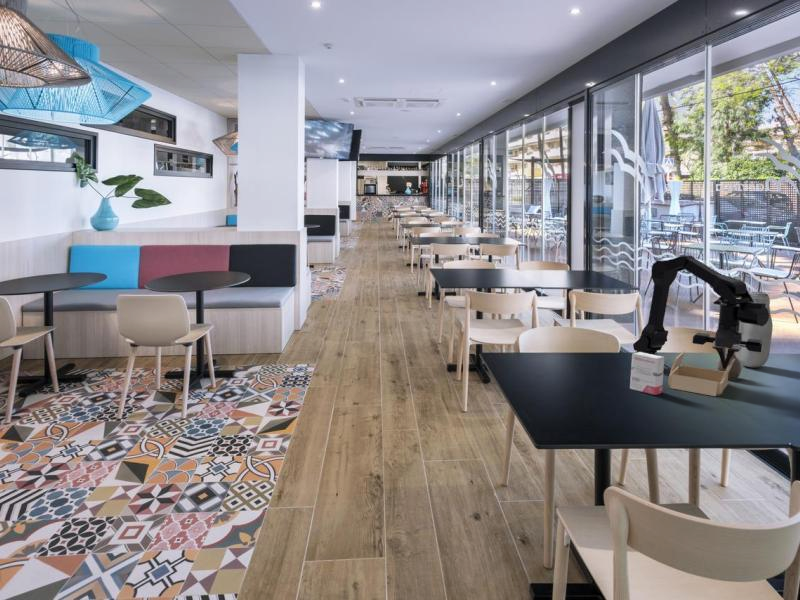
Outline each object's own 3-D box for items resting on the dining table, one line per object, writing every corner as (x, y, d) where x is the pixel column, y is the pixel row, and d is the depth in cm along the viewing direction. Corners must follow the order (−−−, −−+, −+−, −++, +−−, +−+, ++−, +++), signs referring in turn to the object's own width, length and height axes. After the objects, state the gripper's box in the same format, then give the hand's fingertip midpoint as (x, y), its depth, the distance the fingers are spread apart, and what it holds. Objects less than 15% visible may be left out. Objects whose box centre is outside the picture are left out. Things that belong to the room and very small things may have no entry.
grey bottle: (748, 362, 208) (755, 289, 204) (773, 369, 199) (782, 293, 194) (728, 364, 205) (735, 290, 201) (753, 371, 196) (761, 294, 191)
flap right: (720, 380, 170) (727, 366, 168) (726, 371, 179) (733, 358, 177) (722, 381, 170) (729, 367, 168) (728, 372, 179) (735, 359, 177)
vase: (743, 381, 184) (746, 356, 183) (721, 380, 186) (723, 355, 184) (735, 375, 191) (738, 351, 189) (713, 374, 192) (716, 350, 191)
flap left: (679, 364, 188) (685, 351, 186) (671, 372, 178) (677, 358, 177) (678, 364, 188) (683, 351, 186) (669, 372, 179) (675, 358, 177)
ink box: (663, 392, 173) (666, 356, 171) (655, 395, 170) (658, 358, 168) (636, 385, 180) (639, 350, 178) (629, 388, 177) (631, 353, 175)
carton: (666, 387, 178) (667, 374, 177) (678, 375, 191) (679, 363, 190) (719, 397, 168) (720, 383, 168) (728, 384, 182) (729, 371, 181)
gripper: (690, 320, 171) (686, 368, 174) (761, 328, 160) (756, 379, 162) (698, 315, 180) (694, 361, 182) (765, 322, 168) (760, 371, 171)
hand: (724, 368), depth 174 cm, fingers closed
